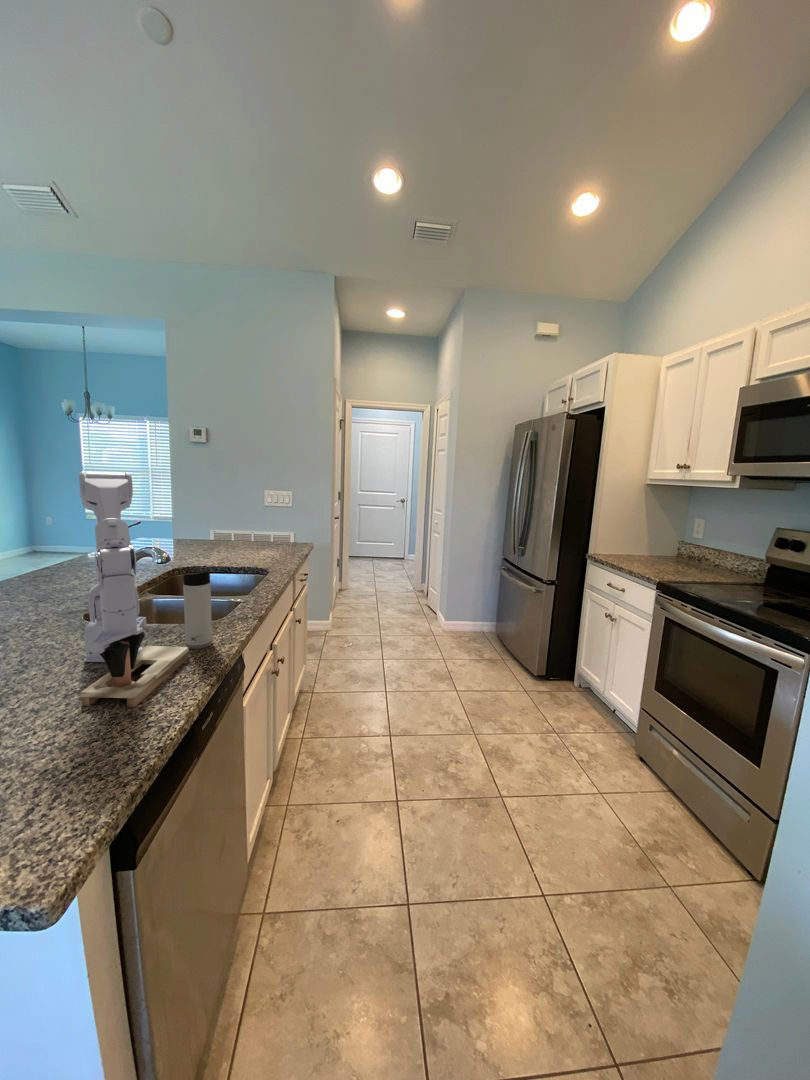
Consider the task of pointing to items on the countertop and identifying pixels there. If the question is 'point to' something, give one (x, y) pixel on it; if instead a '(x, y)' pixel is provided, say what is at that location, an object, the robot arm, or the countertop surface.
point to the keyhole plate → (162, 667)
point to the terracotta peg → (127, 675)
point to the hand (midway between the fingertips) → (123, 672)
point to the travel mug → (197, 609)
